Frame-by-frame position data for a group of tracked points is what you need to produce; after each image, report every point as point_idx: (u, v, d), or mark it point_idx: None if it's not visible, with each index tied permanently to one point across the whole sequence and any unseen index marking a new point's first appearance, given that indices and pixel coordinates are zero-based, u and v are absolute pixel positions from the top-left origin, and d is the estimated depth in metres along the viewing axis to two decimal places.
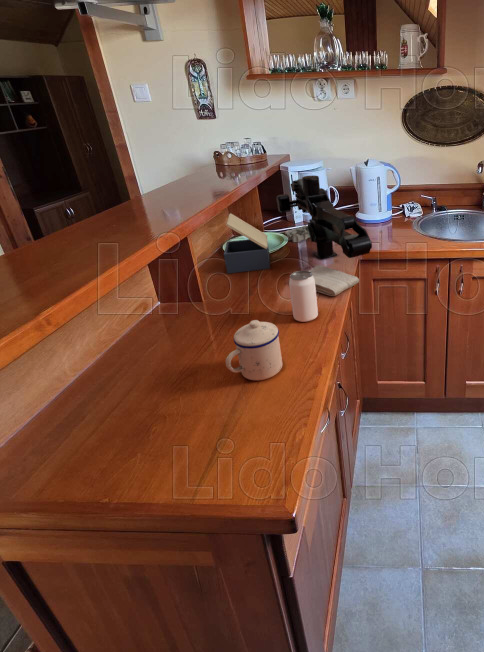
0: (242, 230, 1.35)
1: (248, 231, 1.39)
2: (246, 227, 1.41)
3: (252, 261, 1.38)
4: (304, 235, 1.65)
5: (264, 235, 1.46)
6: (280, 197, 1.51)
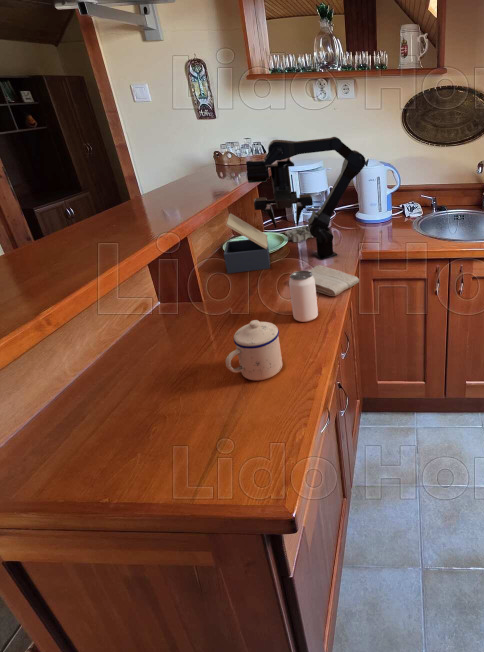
0: (242, 230, 1.35)
1: (248, 231, 1.39)
2: (246, 227, 1.41)
3: (252, 261, 1.38)
4: (304, 235, 1.65)
5: (264, 235, 1.46)
6: (309, 198, 1.38)
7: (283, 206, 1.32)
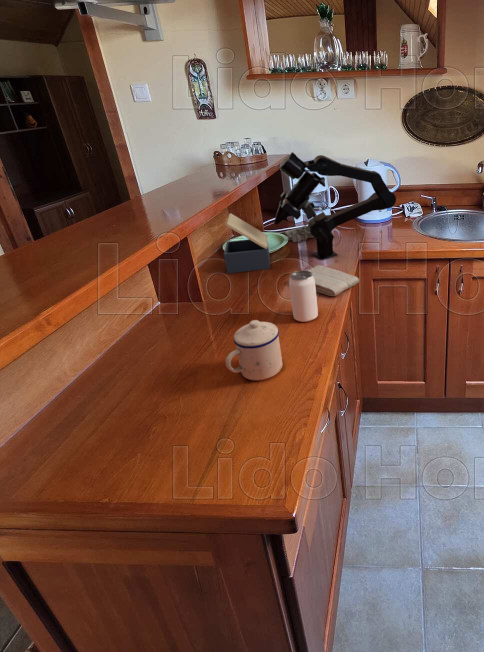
0: (242, 230, 1.35)
1: (248, 231, 1.39)
2: (246, 227, 1.41)
3: (252, 261, 1.38)
4: (304, 235, 1.65)
5: (264, 235, 1.46)
6: None
7: None
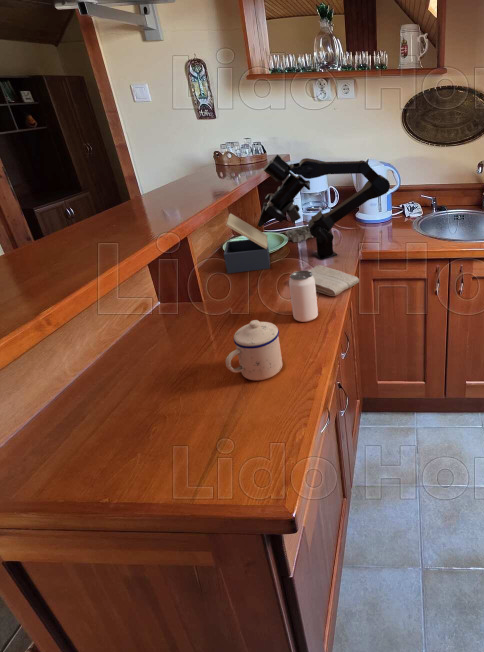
0: (242, 230, 1.35)
1: (248, 231, 1.39)
2: (246, 227, 1.41)
3: (252, 261, 1.38)
4: (304, 235, 1.65)
5: (264, 235, 1.46)
6: None
7: None
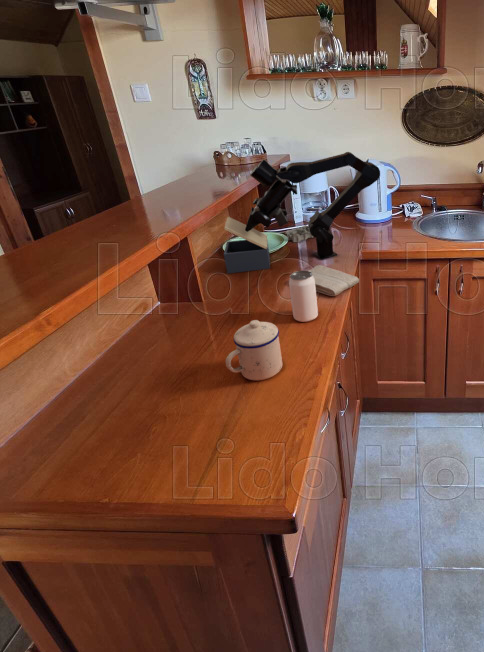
0: (240, 232, 1.35)
1: (247, 232, 1.39)
2: None
3: (252, 261, 1.38)
4: (304, 235, 1.65)
5: (264, 235, 1.46)
6: None
7: None
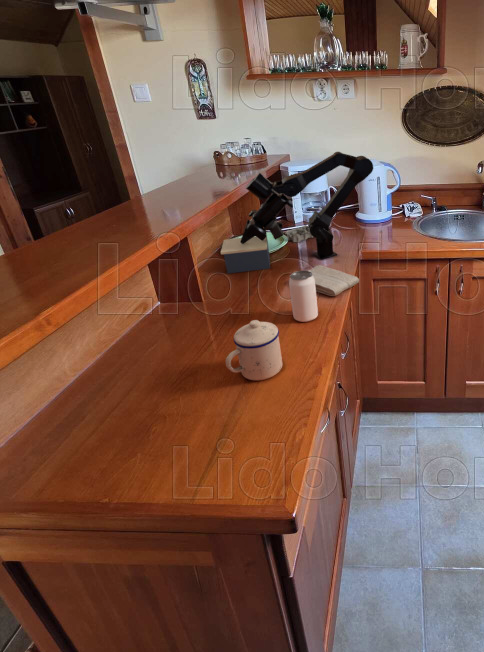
0: (237, 248, 1.37)
1: (245, 244, 1.40)
2: None
3: (252, 261, 1.38)
4: (304, 235, 1.65)
5: None
6: None
7: None
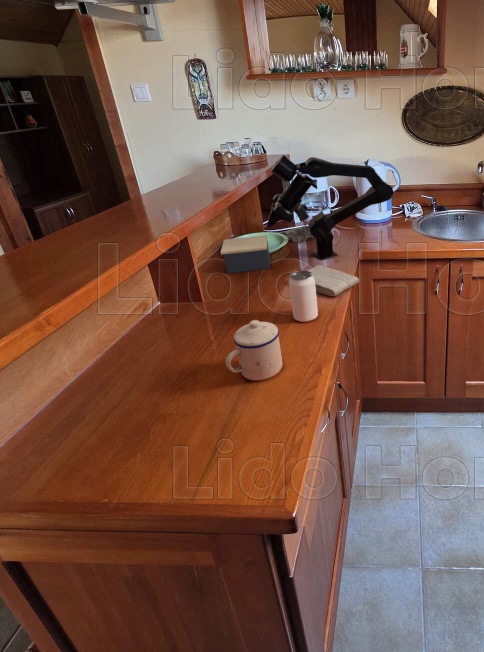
0: (237, 248, 1.37)
1: (245, 244, 1.40)
2: (242, 242, 1.42)
3: (252, 261, 1.38)
4: (304, 235, 1.65)
5: (263, 237, 1.46)
6: None
7: None
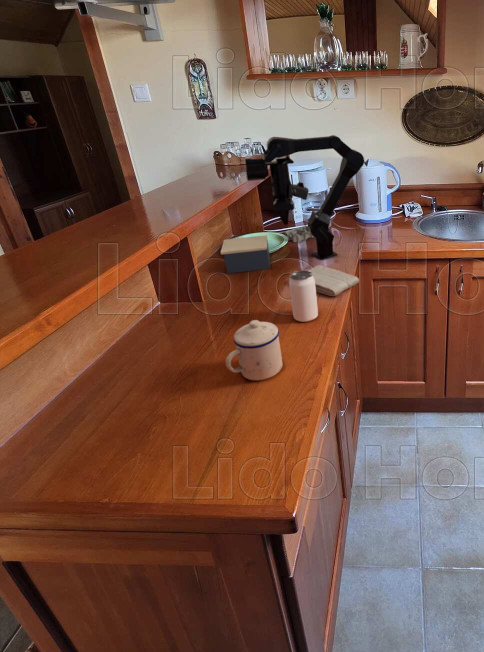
0: (237, 248, 1.37)
1: (245, 244, 1.40)
2: (242, 242, 1.42)
3: (252, 261, 1.38)
4: (304, 235, 1.65)
5: (263, 237, 1.46)
6: None
7: None
